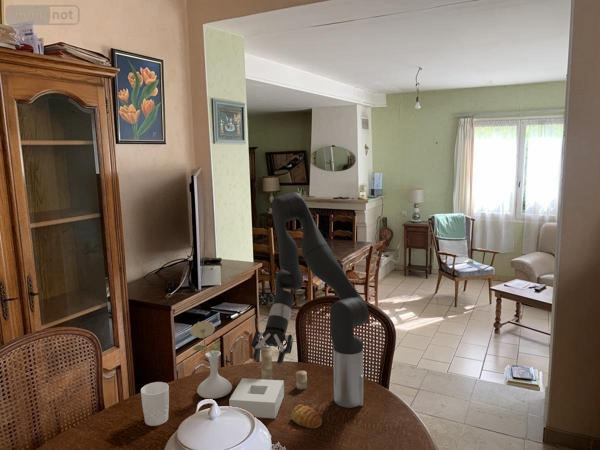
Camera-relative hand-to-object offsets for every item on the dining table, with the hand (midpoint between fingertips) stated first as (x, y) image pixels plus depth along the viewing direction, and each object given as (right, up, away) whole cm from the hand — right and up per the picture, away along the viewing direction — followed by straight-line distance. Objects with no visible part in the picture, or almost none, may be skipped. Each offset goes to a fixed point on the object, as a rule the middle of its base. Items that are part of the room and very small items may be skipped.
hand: (267, 362), depth 155 cm
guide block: (-2, -10, -12) cm, 16 cm away
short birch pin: (+12, -8, -1) cm, 14 cm away
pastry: (+13, -11, -21) cm, 27 cm away
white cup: (-31, -11, -20) cm, 39 cm away
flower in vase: (-18, -9, -4) cm, 20 cm away
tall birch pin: (0, -8, +1) cm, 8 cm away
